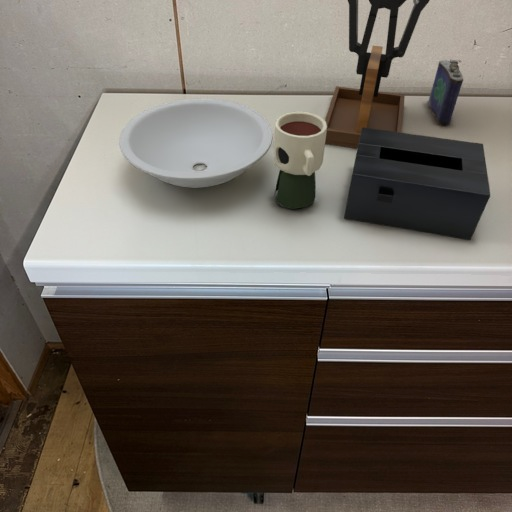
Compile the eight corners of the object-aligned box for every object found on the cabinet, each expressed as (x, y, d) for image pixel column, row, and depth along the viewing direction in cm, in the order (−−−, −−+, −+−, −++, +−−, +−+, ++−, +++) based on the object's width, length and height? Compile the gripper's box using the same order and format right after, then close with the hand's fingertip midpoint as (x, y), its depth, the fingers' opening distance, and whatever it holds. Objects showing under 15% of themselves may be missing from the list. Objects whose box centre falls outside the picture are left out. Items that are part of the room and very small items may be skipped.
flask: (425, 103, 96) (440, 49, 88) (439, 103, 96) (455, 49, 88) (438, 126, 89) (456, 71, 82) (453, 126, 89) (472, 71, 82)
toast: (365, 134, 86) (378, 69, 77) (355, 133, 86) (367, 68, 77) (370, 109, 92) (382, 46, 84) (361, 107, 93) (372, 45, 84)
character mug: (264, 181, 76) (266, 107, 67) (306, 176, 78) (314, 102, 68) (281, 225, 69) (286, 148, 60) (327, 218, 70) (339, 142, 61)
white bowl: (246, 122, 90) (245, 89, 85) (293, 196, 74) (295, 160, 69) (118, 143, 84) (110, 109, 80) (138, 228, 68) (130, 191, 64)
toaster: (466, 187, 76) (483, 143, 70) (470, 244, 66) (491, 199, 61) (353, 169, 79) (361, 127, 73) (343, 222, 69) (351, 178, 64)
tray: (334, 99, 97) (335, 86, 95) (401, 107, 95) (404, 94, 93) (320, 143, 85) (321, 129, 83) (397, 154, 82) (400, 140, 80)
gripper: (450, -64, 70) (411, 88, 86) (349, -71, 72) (330, 78, 89) (451, -52, 65) (410, 107, 81) (343, -60, 67) (324, 96, 84)
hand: (368, 92), depth 85 cm, fingers closed on toast, 2 cm apart
